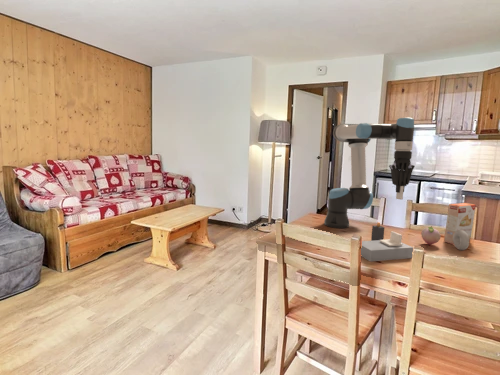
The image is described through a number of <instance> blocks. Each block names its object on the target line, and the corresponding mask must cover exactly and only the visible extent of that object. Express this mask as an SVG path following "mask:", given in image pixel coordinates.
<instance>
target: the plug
mask: <svg viewBox="0 0 500 375" xmlns="http://www.w3.org/2000/svg"><path fill="white" fill-rule="evenodd" d="M371 228H372V229H371V239H370V241H374V240H385V239H384V235H385V226H383V225H382V226H381V222H377V223H376V224H375V225H372V226H371Z"/></svg>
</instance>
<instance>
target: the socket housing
mask: <svg viewBox="0 0 500 375" xmlns="http://www.w3.org/2000/svg"><path fill="white" fill-rule="evenodd" d="M401 243H402V244H403V245H402V246H388V245H386V244H384V243H382V242H380V241H379V240H374V241H371V240H362V248H361V255H362V256H361V257H362V258H363V259H365V260H367V261H369V262H381V261H391V260H392V261H393V260H403V259H405V260H406V259H412V258H413V254H412V252H413V253H414V247H413V246H411V245H408V244H406V243H404V242H402V241H401Z"/></svg>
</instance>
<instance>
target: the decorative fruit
mask: <svg viewBox="0 0 500 375" xmlns="http://www.w3.org/2000/svg"><path fill="white" fill-rule="evenodd" d="M421 238H422V240H423V241H424V242H425V243H426V244H427V245H429V246H431V245H434V244H436V243H438V242H439V241H440V239H441V233H440V231H439V230H438V229H436V228H434V227H433V226H432V225H431V226H428V227H425V228H423V229H422V230H421Z"/></svg>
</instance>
